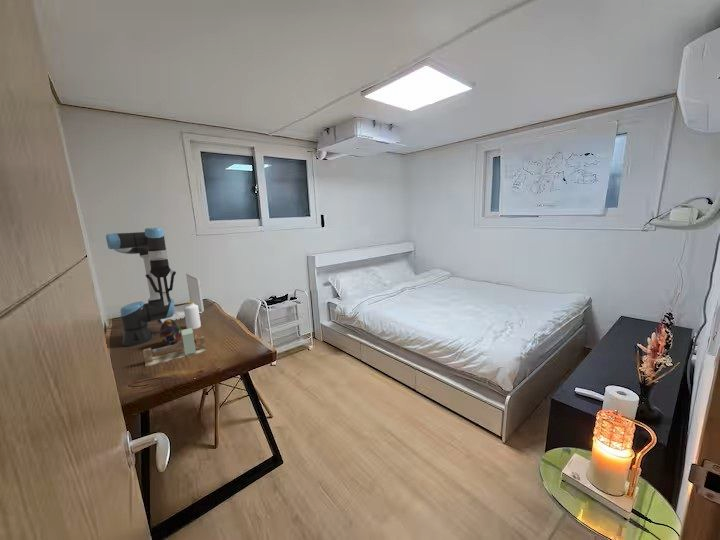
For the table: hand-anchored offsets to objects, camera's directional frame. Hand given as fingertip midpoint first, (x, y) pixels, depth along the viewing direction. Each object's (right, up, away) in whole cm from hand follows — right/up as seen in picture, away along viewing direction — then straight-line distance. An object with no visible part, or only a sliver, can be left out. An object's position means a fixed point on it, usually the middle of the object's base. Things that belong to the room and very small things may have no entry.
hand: (166, 304), depth 148 cm
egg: (-11, -26, +21) cm, 35 cm away
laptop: (-43, -16, +79) cm, 92 cm away
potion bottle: (-12, -21, +45) cm, 51 cm away
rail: (+2, -28, +6) cm, 28 cm away
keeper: (+7, -27, +9) cm, 29 cm away
